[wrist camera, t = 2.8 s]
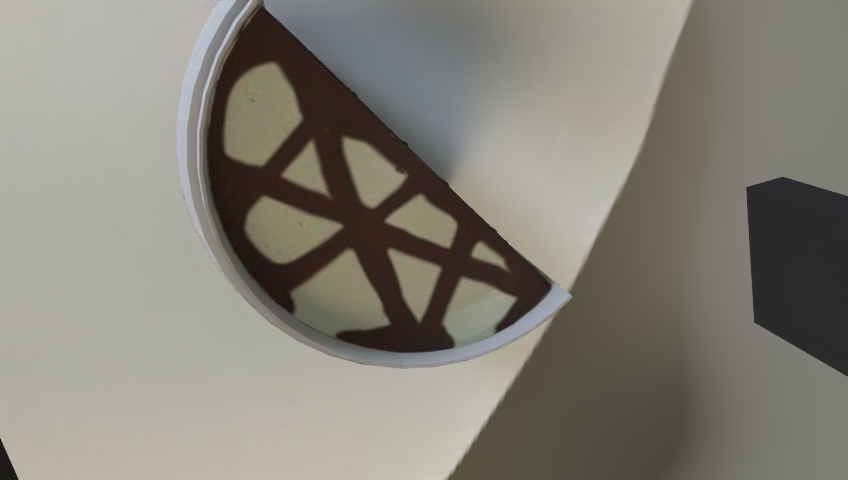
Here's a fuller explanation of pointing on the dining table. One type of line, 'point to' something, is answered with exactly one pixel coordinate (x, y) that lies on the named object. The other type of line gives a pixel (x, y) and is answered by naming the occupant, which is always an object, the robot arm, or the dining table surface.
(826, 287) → the robot arm
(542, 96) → the dining table surface
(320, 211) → the food container
